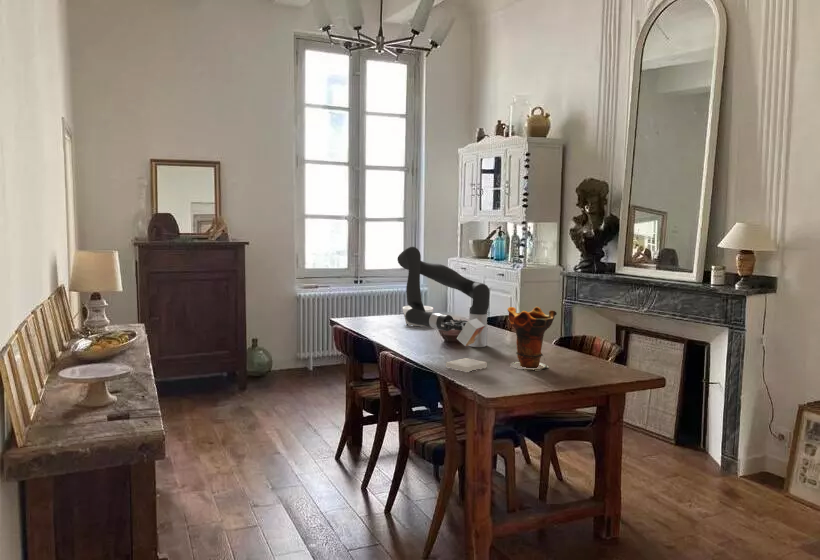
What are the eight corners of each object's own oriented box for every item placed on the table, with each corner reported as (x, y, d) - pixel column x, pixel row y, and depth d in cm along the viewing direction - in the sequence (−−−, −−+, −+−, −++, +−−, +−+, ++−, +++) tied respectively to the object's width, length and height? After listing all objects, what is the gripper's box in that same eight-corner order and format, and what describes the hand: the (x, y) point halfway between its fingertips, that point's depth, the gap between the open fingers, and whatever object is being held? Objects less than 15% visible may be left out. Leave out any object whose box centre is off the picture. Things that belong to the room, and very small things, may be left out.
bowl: (400, 322, 412) (400, 305, 411) (430, 322, 415) (431, 305, 413) (403, 327, 393) (404, 309, 392) (435, 327, 396) (435, 310, 394)
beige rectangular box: (465, 363, 304) (466, 357, 304) (486, 367, 296) (486, 362, 296) (446, 367, 294) (446, 362, 294) (466, 372, 286) (467, 367, 286)
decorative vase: (564, 365, 301) (564, 305, 297) (532, 375, 286) (532, 312, 282) (527, 357, 317) (528, 300, 313) (496, 367, 302) (496, 307, 298)
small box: (464, 346, 290) (476, 329, 286) (455, 338, 293) (467, 320, 288) (474, 343, 297) (485, 325, 292) (465, 335, 299) (476, 317, 294)
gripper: (430, 315, 299) (457, 320, 288) (451, 312, 309) (478, 317, 298) (430, 331, 300) (457, 337, 288) (451, 328, 310) (477, 333, 298)
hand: (468, 327), depth 293 cm, fingers closed on small box, 8 cm apart
